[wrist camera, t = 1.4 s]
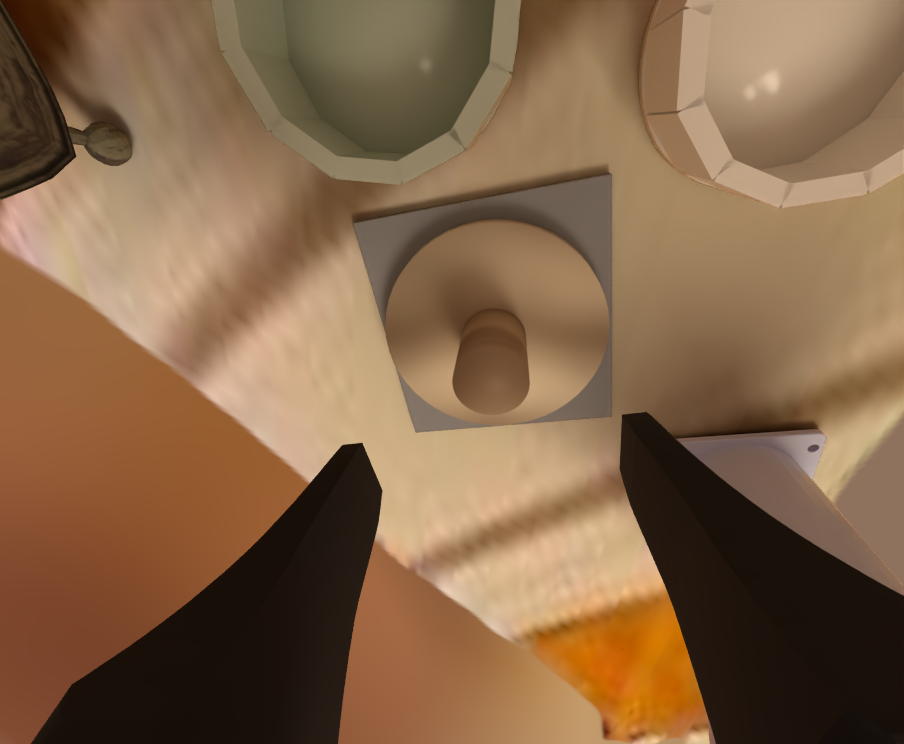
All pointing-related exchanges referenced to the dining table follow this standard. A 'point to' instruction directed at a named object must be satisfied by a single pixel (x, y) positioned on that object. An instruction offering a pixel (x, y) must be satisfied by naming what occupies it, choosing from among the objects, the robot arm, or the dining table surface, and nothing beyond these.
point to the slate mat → (551, 206)
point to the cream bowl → (777, 95)
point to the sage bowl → (372, 77)
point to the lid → (497, 322)
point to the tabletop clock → (40, 121)
